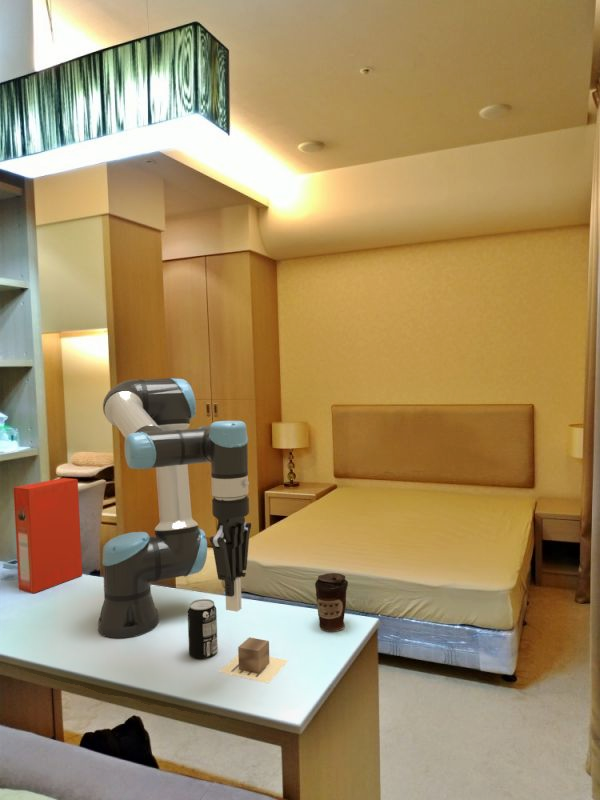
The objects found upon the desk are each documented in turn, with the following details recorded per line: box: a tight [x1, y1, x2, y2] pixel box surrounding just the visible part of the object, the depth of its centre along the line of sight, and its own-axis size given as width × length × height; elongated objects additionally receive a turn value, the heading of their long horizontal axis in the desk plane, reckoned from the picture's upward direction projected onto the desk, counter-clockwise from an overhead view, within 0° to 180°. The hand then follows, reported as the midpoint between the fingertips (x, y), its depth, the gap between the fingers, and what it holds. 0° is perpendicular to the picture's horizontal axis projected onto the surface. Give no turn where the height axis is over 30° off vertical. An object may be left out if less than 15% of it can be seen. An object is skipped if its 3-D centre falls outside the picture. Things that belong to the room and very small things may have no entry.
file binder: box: [13, 477, 83, 594], centre depth 182 cm, size 8×17×32 cm, turn 149°
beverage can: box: [187, 598, 219, 660], centre depth 133 cm, size 7×7×12 cm
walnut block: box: [237, 637, 270, 674], centre depth 126 cm, size 5×5×5 cm
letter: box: [219, 654, 289, 684], centre depth 126 cm, size 12×10×1 cm
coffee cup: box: [314, 572, 349, 632], centre depth 145 cm, size 9×8×13 cm
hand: (233, 608), depth 118 cm, fingers closed
